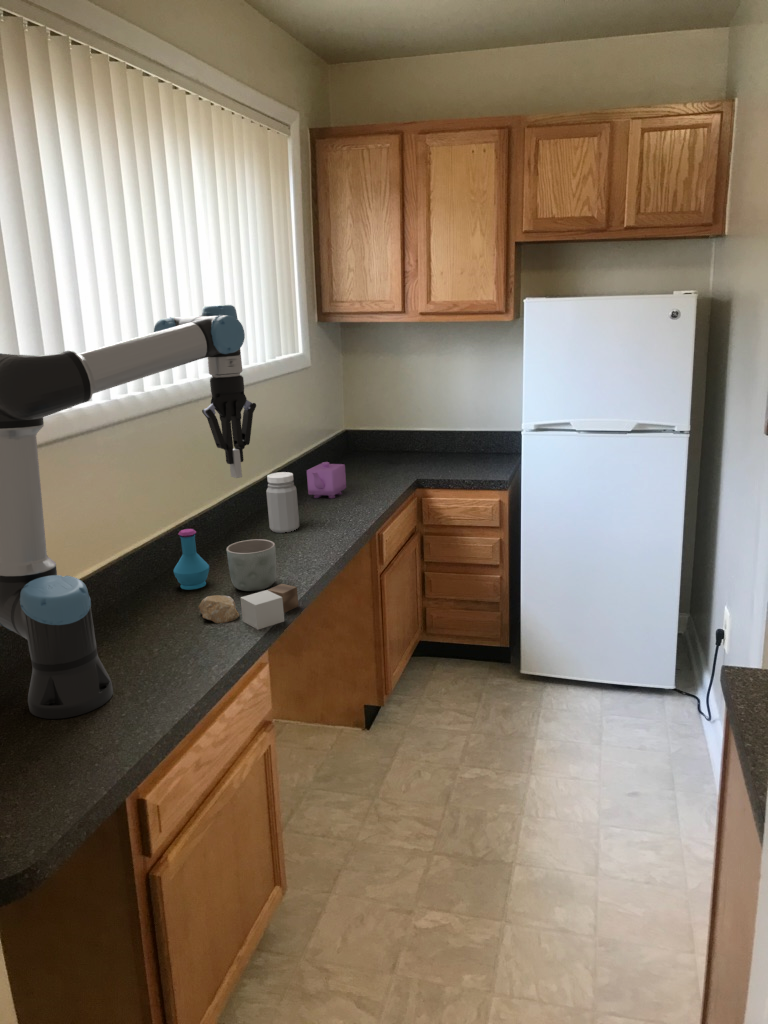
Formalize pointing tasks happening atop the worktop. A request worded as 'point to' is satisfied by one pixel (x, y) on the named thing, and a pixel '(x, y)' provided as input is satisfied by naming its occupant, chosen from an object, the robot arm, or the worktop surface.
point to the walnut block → (286, 596)
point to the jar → (282, 502)
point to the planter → (252, 564)
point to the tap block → (262, 609)
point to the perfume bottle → (190, 563)
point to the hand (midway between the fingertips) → (236, 476)
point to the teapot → (326, 479)
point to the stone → (218, 609)
